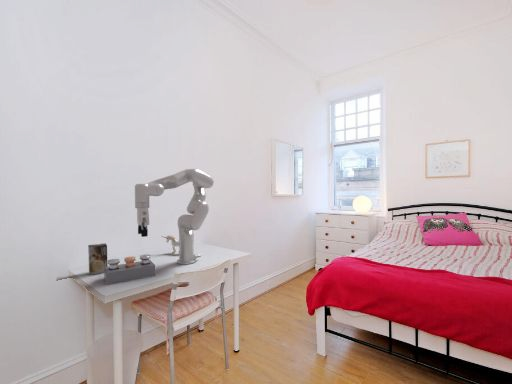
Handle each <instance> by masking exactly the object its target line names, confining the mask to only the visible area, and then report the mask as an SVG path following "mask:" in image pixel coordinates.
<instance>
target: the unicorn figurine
mask: <svg viewBox="0 0 512 384" xmlns="http://www.w3.org/2000/svg"><path fill="white" fill-rule="evenodd" d="M161 237H162V238H165V239H166V243H167V244H168V243H169V241H171V245H172V250H173V251H172V254H175V253H176V252H177V251H176V249H175V247H178V248H179V240H177V239H176V237H174V236H173V235H171V234H170V235H166V236H163V235H162V236H161Z"/></svg>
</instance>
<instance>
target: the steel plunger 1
mask: <svg viewBox="0 0 512 384" xmlns="http://www.w3.org/2000/svg"><path fill="white" fill-rule="evenodd" d="M120 262H121V260H120V258H112V259H109V260H108V259H107V265H108V266H110V270H116V269H118V265H119V264H120Z"/></svg>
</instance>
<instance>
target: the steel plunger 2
mask: <svg viewBox="0 0 512 384" xmlns="http://www.w3.org/2000/svg"><path fill="white" fill-rule="evenodd" d="M139 260H140V261H141V265H147V264H149V260H151V254H141V255H139Z"/></svg>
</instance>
